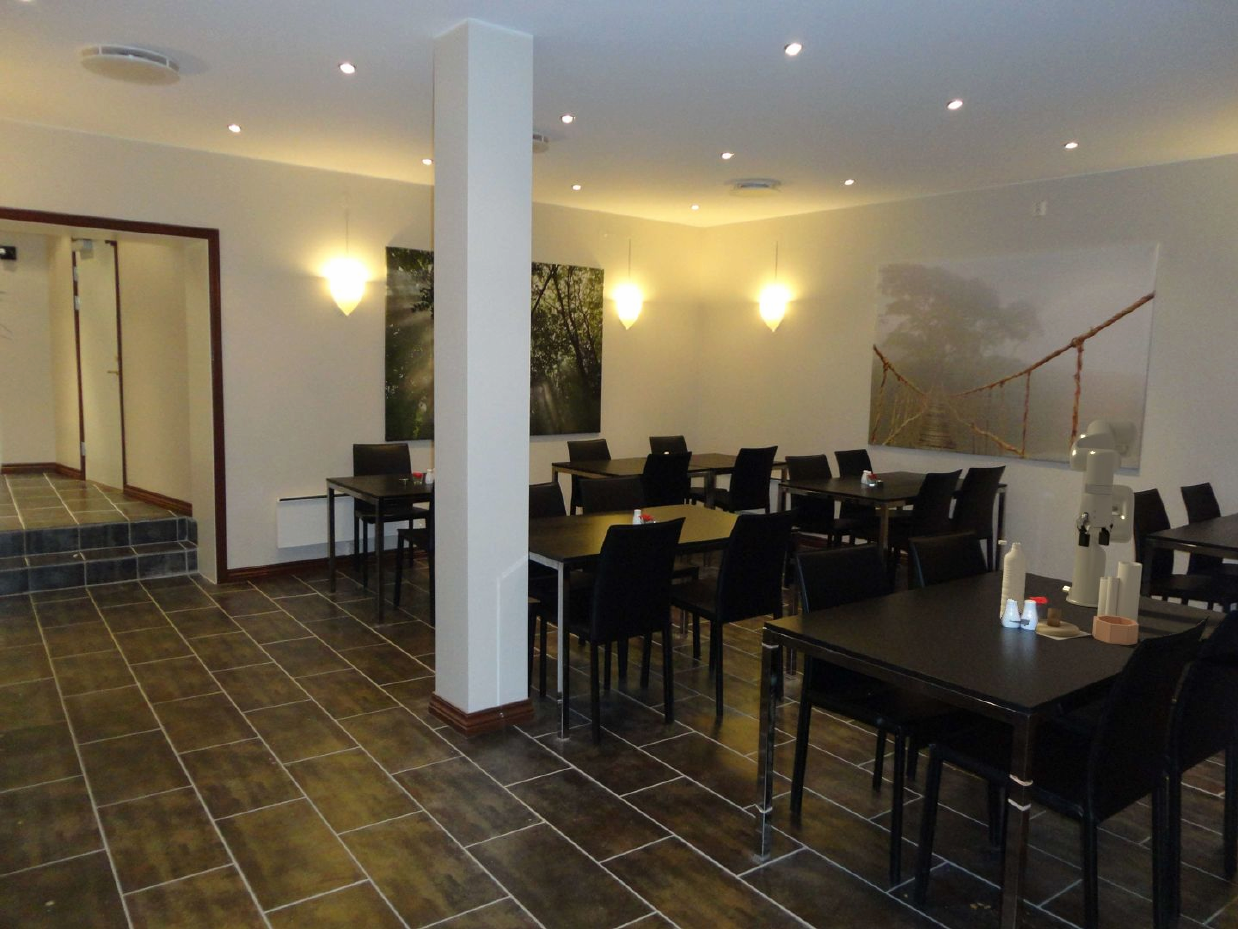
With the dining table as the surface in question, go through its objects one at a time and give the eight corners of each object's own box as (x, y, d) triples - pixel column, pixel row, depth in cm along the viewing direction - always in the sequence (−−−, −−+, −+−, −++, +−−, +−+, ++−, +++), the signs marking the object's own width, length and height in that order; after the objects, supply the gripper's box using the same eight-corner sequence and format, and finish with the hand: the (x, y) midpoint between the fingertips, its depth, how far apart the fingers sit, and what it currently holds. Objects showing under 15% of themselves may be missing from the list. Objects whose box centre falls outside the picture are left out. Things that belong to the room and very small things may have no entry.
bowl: (1085, 636, 262) (1086, 617, 261) (1108, 632, 267) (1110, 613, 266) (1119, 647, 252) (1121, 627, 251) (1143, 643, 257) (1145, 623, 256)
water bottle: (1024, 619, 279) (1030, 543, 276) (1018, 624, 274) (1024, 546, 271) (996, 614, 284) (1002, 539, 282) (989, 618, 279) (995, 541, 277)
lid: (1017, 626, 270) (1019, 605, 269) (1048, 621, 276) (1050, 601, 275) (1058, 639, 257) (1059, 618, 256) (1089, 634, 263) (1091, 613, 263)
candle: (1138, 625, 276) (1144, 563, 274) (1134, 630, 270) (1140, 567, 268) (1098, 618, 283) (1103, 557, 281) (1093, 622, 277) (1098, 561, 275)
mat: (1015, 627, 270) (1015, 626, 270) (1048, 622, 276) (1048, 621, 276) (1058, 641, 256) (1058, 640, 256) (1091, 635, 263) (1091, 634, 263)
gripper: (1104, 488, 273) (1099, 542, 275) (1069, 489, 265) (1064, 545, 267) (1127, 491, 267) (1122, 546, 268) (1092, 492, 259) (1087, 549, 260)
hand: (1093, 545), depth 267 cm, fingers open, 9 cm apart
